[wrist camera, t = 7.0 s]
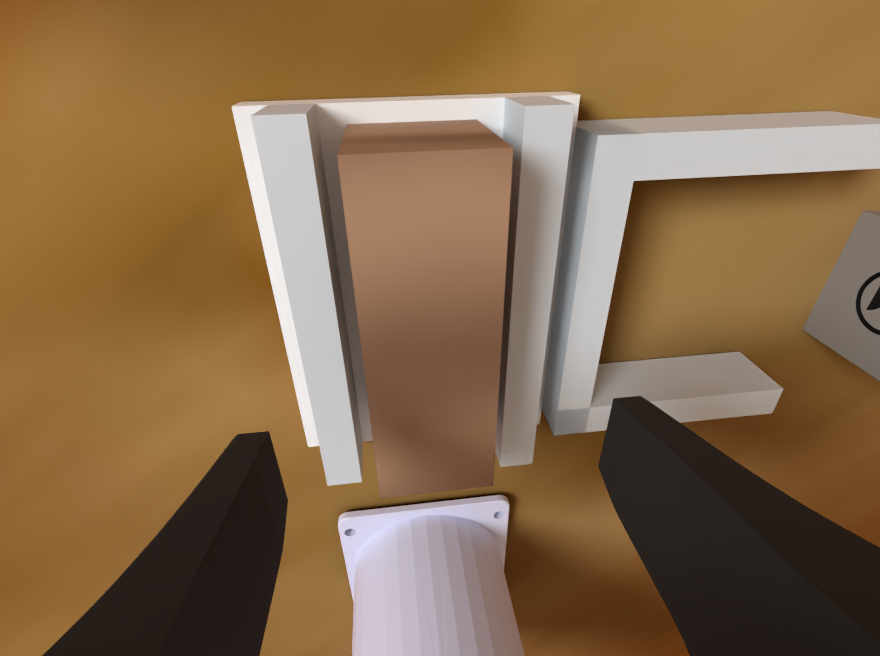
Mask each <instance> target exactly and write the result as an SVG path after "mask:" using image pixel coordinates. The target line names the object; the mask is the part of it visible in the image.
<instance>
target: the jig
mask: <svg viewBox="0 0 880 656" xmlns="http://www.w3.org/2000/svg"><path fill="white" fill-rule="evenodd" d="M579 101H580V95H579V94H575V93H571V92H568V91H566V92H535V93H504V94H473V95H441V96H410V97H379V98H348V99H317V100H285V101H254V102H240V103H237V104H235V105H233V106H231V107H232V111H233V115H234V120H235V124H236V129H237V133H238V138H239V142H240V146H241V151H242V155H243V160H244V164H245V169H246V173H247V178H248V182H249V186H250V191H251V195H252V200H253V204H254V209H255V213H256V217H257V222H258V226H259V231H260V235H261V240H262V244H263V249H264V253H265V257H266V262H267V266H268V271H269V275H270V280H271V284H272V288H273V293H274V297H275V302H276V306H277V311H278V315H279V320H280V324H281V328H282V333H283V337H284V342H285V346H286V351H287V355H288V359H289V364H290V368H291V373H292V377H293V382H294V386H295V391H296V395H297V399H298V404H299V408H300V413H301V417H302V422H303V426H304V431H305V435H306V439H307V444H308V447H313V446H319V447H320V451H321V456H322V461H323V466H324V471H325V475H326V480H327V485H328V486H329V485H339V484H348V483H357V482H362V460H363V441H373V438H372V430H371V422H370V414H369V406H368V398H367V390H366V382H365V374H364V366H363V358H362V350H361V342H360V334H359V326H358V318H357V310H356V302H355V294H354V286H353V279H352V271H351V263H350V255H349V247H348V239H347V231H346V223H345V215H344V207H343V199H342V191H341V183H340V175H339V167H338V159H337V153H338V150H339V147H340V144H341V141H342V137H343V134H344V131H345V128H346V125H347V124H364V123H391V122H418V121H445V120H472V119H477V120H478V121H479V122H481V123H482V124H483V125H484V126H486V127H487V128H488V129H490V130H491V131H492V132H494V133H495V134H496V135H498V136H499V137H500V138H502V139H503V140H504V141H505V142H507V143H508V144H509V145H511V146H512V147H513V161H512V178H511V195H510V211H509V228H508V245H507V261H506V278H505V295H504V312H503V328H502V345H501V362H500V378H499V395H498V412H497V428H496V445H495V452H496V455H497V458H498V462H499V465H500V467H506V466H516V465H525V464H532V461H533V453H534V444H535V436H536V427H537V424H540V418H541V409H542V411H543V413H544V415H545V417H546V420H547V422H548V424H549V426H550V428H551V430H552V433H553V435H554V436H555V435H565V434H575V433H584V432H594V431H604V430H606V429H607V425H608V420H609V416H610V411H611V407H612V402H613V398H622V397H633V396H642V397H643V398H645V399H646V400H648V401H649V402H651V403H652V404H654V405H655V406H657V407H658V408H660V409H661V410H662V411H664V412H665V413H667V414H668V415H670V416H671V417H672V418H674V419H675V420H677V421H678V422H680V423H682V422H692V421H702V420H712V419H721V418H731V417H741V416H751V415H761V414H770V413H773V411H774V409H775V406H776V404H777V402H778V400H779V398H780V395H781V393H782V391H783V388H782V387H781V386H780V385H778V384H777V383H776V382H775V381H774V380H772V379H771V378H770V377H769V376H768V375H767V374H765V373H764V372H763V371H762V370H761V369H760V368H758V367H757V366H756V365H755V364H754V363H752V362H751V361H750V360H749V359H748V358H747V357H745V356H744V355H743V354H742V353H741V352H728V353H717V354H706V355H694V356H683V357H672V358H660V359H649V360H638V361H626V362H615V363H604V364H598V363H599V358H600V353H601V348H602V343H603V337H604V332H605V327H606V322H607V317H608V311H609V306H610V301H611V296H612V291H613V286H614V280H615V275H616V270H617V265H618V260H619V254H620V249H621V244H622V239H623V234H624V228H625V223H626V218H627V213H628V208H629V202H630V197H631V192H632V187H633V182H634V181H643V180H663V179H683V178H702V177H722V176H741V175H761V174H781V173H800V172H820V171H839V170H859V169H879V168H880V119H878V118H872V117H865V116H859V115H852V114H846V113H839V112H833V111H820V112H793V113H767V114H741V115H714V116H688V117H662V118H636V119H609V120H583V121H577V117H578V109H579Z"/></svg>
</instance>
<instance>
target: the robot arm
mask: <svg viewBox="0 0 880 656" xmlns="http://www.w3.org/2000/svg"><path fill="white" fill-rule="evenodd" d="M599 469H600V471H601V474H602V477H603V480H604V482H605V485H606V488H607V490H608V493H609V495H610V498H611V500H612V503H613V505H614V508H615V510H616V512H617V514H618V516H619V518H620V520H621V522H622V524H623V526H624V528H625V530H626V532H627V533H628V535H629V537H630V539H631V541H632V543H633V545H634V547H635V548H636V550H637V552H638V554H639V556H640V558H641V560H642V561H643V563H644V565H645V567H646V569H647V571H648V573H649V574H650V576H651V578H652V580H653V582H654V584H655V586H656V587H657V589H658V591H659V593H660V595H661V597H662V599H663V600H664V602H665V604H666V606H667V608H668V610H669V612H670V613H671V616H672V618H673V620H674V622H675V624H676V626H677V628H678V630H679V632H680V634H681V636H682V638H683V640H684V642H685V645H686V647H687V649H688V652H689V654H690V656H880V548H879V547H878V546H876V545H874V544H872V543H870V542H868V541H866V540H865V539H863V538H861V537H859V536H857V535H856V534H854V533H852V532H850V531H848V530H847V529H845V528H843V527H841V526H839V525H837V524H836V523H834V522H832V521H830V520H828V519H827V518H825V517H823V516H821V515H820V514H818V513H816V512H815V511H813V510H811V509H810V508H808V507H806V506H804V505H803V504H801V503H799V502H798V501H796V500H795V499H793V498H791V497H790V496H788V495H787V494H785V493H783V492H782V491H780V490H779V489H777V488H775V487H774V486H772V485H771V484H769V483H767V482H766V481H764V480H763V479H761V478H760V477H758V476H757V475H755V474H754V473H752V472H751V471H749V470H747V469H746V468H744V467H743V466H741V465H740V464H738V463H737V462H735V461H734V460H733V459H731V458H730V457H728V456H727V455H725V454H724V453H722V452H721V451H719V450H718V449H716V448H715V447H714V446H712V445H711V444H709V443H708V442H706V441H705V440H704V439H702V438H701V437H699V436H698V435H696V434H695V433H694V432H692V431H691V430H689V429H688V428H687V427H685V426H684V425H682V424H681V423H680V422H678V421H677V420H675V419H674V418H672V417H671V416H670V415H668V414H667V413H665V412H664V411H662V410H661V409H660V408H658V407H657V406H655V405H654V404H652V403H651V402H649V401H648V400H646V399H645V398H643V397H642V396H633V397H622V398H613V402H612V407H611V411H610V416H609V420H608V425H607V429H606V434H605V439H604V443H603V448H602V452H601V457H600V462H599ZM287 503H288V499H287V496H286V492H285V488H284V485H283V481H282V477H281V474H280V470H279V466H278V463H277V459H276V456H275V452H274V448H273V445H272V441H271V437H270V434H269V431H267V432H257V433H247V434H238V435H237V436H236V437H235V438H234V439H233V440H232V441H231V443H230V444H229V445H228V446H227V448H226V449H225V450H224V452H223V453H222V454H221V455H220V457H219V458H218V459H217V461H216V462H215V463H214V465H213V466H212V467H211V468H210V470H209V471H208V472H207V474H206V475H205V476H204V477H203V479H202V480H201V481H200V483H199V484H198V485H197V486H196V488H195V489H194V490H193V491H192V493H191V494H190V495H189V496H188V498H187V499H186V500H185V501H184V503H183V504H182V505H181V506H180V507H179V509H178V510H177V511H176V512H175V514H174V515H173V516H172V517H171V518H170V520H169V521H168V522H167V523H166V525H165V526H164V527H163V528H162V529H161V531H160V532H159V533H158V534H157V535H156V536H155V538H154V539H153V540H152V541H151V542H150V543H149V544H148V546H147V547H146V548H145V549H144V550H143V551H142V552H141V553H140V555H139V556H138V557H137V558H136V559H135V560H134V561H133V562H132V564H131V565H130V566H129V567H128V568H127V569H126V570H125V571H124V573H123V574H122V575H121V576H120V577H119V578H118V579H117V580H116V581H115V583H114V584H113V585H112V586H111V587H110V588H109V589H108V590H107V591H106V592H105V593H104V594H103V595H102V596H101V597H100V598H99V600H98V601H97V602H96V603H95V604H94V605H93V606H92V607H91V608H90V609H89V610H88V611H87V612H86V613H85V614H84V615H83V616H82V617H81V618H80V619H79V620H78V621H77V622H76V623H75V624H74V625H73V626H72V627H71V628H70V629H69V630H68V631H67V632H66V633H65V634H64V635H63V636H62V637H61V638H60V639H59V640H58V641H57V642H56V643H55V644H54V645H53V646H52V647H51V648H50V649H49V650H48V651H47V652H45V653H44V654H43V655H42V656H259V654H260V650H261V646H262V641H263V637H264V632H265V628H266V623H267V619H268V614H269V610H270V605H271V601H272V597H273V592H274V588H275V583H276V578H277V574H278V569H279V565H280V560H281V555H282V550H283V542H284V533H285V524H286V513H287ZM509 508H510V506H509V502H508V498H507V497H506V496H503V495H493V496H484V497H475V498H466V499H457V500H448V501H440V502H431V503H422V504H413V505H404V506H395V507H387V508H378V509H369V510H360V511H351V512H345V513H343V514H341V515H340V516H339V519H338V529H339V534H340V539H341V544H342V548H343V553H344V558H345V563H346V568H347V573H348V578H349V583H350V587H351V592H352V597H353V602H354V613H353V643H352V656H525V654H524V650H523V646H522V642H521V638H520V634H519V630H518V626H517V622H516V618H515V614H514V610H513V606H512V602H511V598H510V594H509V590H508V586H507V582H506V578H505V574H504V563H505V552H506V541H507V530H508V519H509Z"/></svg>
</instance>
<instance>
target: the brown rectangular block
mask: <svg viewBox="0 0 880 656" xmlns="http://www.w3.org/2000/svg"><path fill="white" fill-rule="evenodd" d="M337 159H338V167H339V175H340V183H341V191H342V199H343V207H344V215H345V223H346V231H347V239H348V247H349V255H350V263H351V271H352V279H353V286H354V294H355V302H356V310H357V318H358V326H359V334H360V342H361V350H362V358H363V366H364V374H365V382H366V390H367V398H368V406H369V414H370V422H371V430H372V438H373V446H374V454H375V462H376V470H377V478H378V486H379V494H380V498H386V497H395V496H404V495H413V494H422V493H431V492H440V491H449V490H458V489H467V488H476V487H485V486H493V478H494V462H495V445H496V428H497V412H498V395H499V378H500V362H501V345H502V328H503V312H504V295H505V278H506V261H507V245H508V228H509V211H510V195H511V178H512V161H513V147H512V146H511V145H509V144H508V143H507V142H505V141H504V140H503V139H502V138H500V137H499V136H498V135H496V134H495V133H494V132H492V131H491V130H490V129H488V128H487V127H486V126H484V125H483V124H482V123H481V122H479V121H478V120H477V119H472V120H445V121H418V122H391V123H364V124H347V125H346V128H345V131H344V134H343V137H342V141H341V144H340V147H339V150H338V153H337Z"/></svg>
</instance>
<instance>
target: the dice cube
mask: <svg viewBox="0 0 880 656" xmlns="http://www.w3.org/2000/svg"><path fill="white" fill-rule="evenodd" d="M803 330H804V331H806V332H807V333H809V334H810V335H812V336H813V337H814V338H816V339H817V340H819V341H820V342H822V343H823V344H825V345H826V346H828V347H829V348H831V349H832V350H834V351H835V352H837V353H838V354H840V355H841V356H843V357H844V358H846V359H847V360H849V361H850V362H852V363H853V364H855V365H856V366H858V367H859V368H861V369H862V370H864V371H865V372H867V373H868V374H870V375H871V376H873V377H874V378H876V379H877V380H879V381H880V211H863V212H862V214H861V216H860V218H859V219H858V221H857V223H856V225H855V227H854V229H853V231H852V233H851V235H850V237H849V239H848V241H847V243H846V245H845V247H844V249H843V251H842V253H841V255H840V257H839V259H838V260H837V262H836V264H835V266H834V268H833V270H832V272H831V274H830V276H829V278H828V280H827V282H826V284H825V286H824V288H823V290H822V292H821V294H820V296H819V298H818V300H817V302H816V303H815V305H814V307H813V309H812V311H811V313H810V315H809V317H808V319H807V321H806V323H805V325H804V327H803Z"/></svg>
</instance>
